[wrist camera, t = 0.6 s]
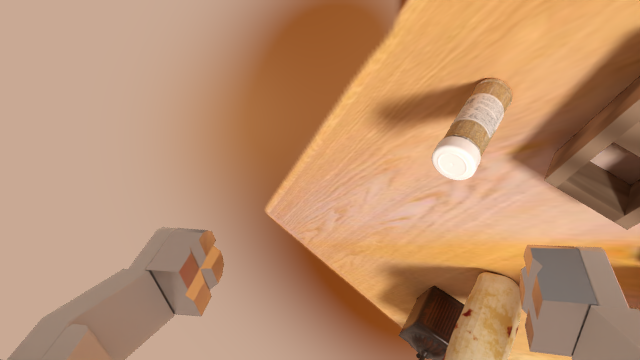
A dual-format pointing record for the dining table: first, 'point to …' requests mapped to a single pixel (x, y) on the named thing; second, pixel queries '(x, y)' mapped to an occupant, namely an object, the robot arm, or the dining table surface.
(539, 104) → the dining table surface
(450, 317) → the coffee grinder
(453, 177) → the sprinkles bottle
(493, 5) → the dining table surface
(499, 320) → the food model
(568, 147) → the rail
